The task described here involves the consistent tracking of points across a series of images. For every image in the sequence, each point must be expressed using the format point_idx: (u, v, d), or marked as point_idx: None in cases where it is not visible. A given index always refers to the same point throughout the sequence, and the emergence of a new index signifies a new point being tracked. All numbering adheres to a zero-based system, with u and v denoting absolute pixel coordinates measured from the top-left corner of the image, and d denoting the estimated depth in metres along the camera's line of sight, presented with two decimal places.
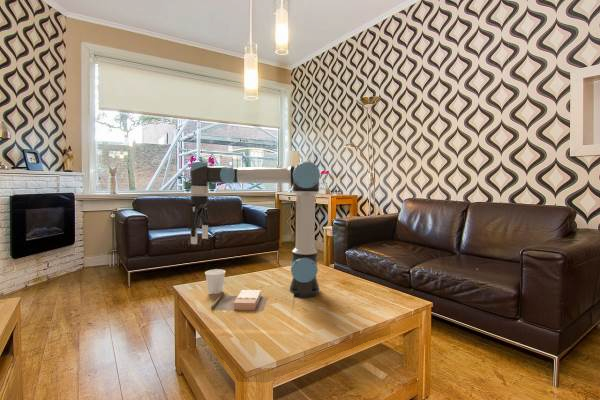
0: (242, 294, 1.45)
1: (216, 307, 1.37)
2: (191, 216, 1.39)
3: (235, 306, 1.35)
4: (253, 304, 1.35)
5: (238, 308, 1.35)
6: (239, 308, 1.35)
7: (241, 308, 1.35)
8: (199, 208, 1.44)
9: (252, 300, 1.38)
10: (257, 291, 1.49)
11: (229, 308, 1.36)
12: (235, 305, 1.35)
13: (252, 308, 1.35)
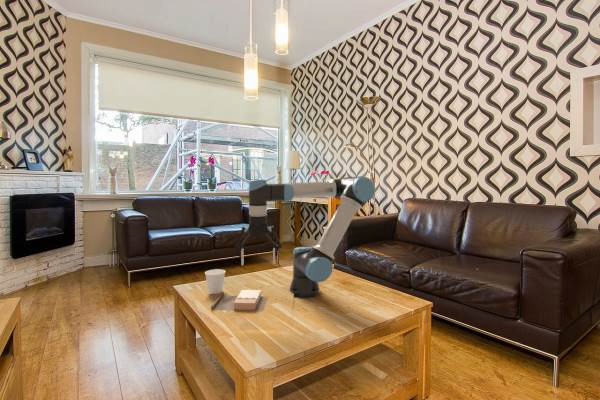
0: (242, 294, 1.45)
1: (216, 307, 1.37)
2: None
3: (235, 306, 1.35)
4: (253, 304, 1.35)
5: (238, 308, 1.35)
6: (239, 308, 1.35)
7: (241, 308, 1.35)
8: (251, 229, 1.36)
9: (252, 300, 1.38)
10: (257, 291, 1.49)
11: (229, 308, 1.36)
12: (235, 305, 1.35)
13: (252, 308, 1.35)
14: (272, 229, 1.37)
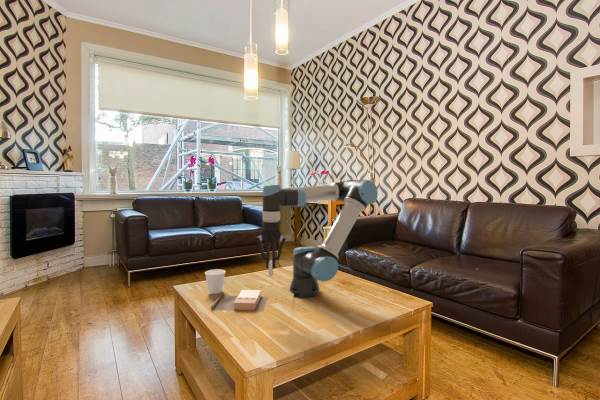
0: (242, 294, 1.45)
1: (216, 307, 1.37)
2: None
3: (235, 306, 1.35)
4: (253, 304, 1.35)
5: (238, 308, 1.35)
6: (239, 308, 1.35)
7: (241, 308, 1.35)
8: (263, 234, 1.34)
9: (252, 300, 1.38)
10: (257, 291, 1.49)
11: (229, 308, 1.36)
12: (235, 305, 1.35)
13: (252, 308, 1.35)
14: (283, 240, 1.34)
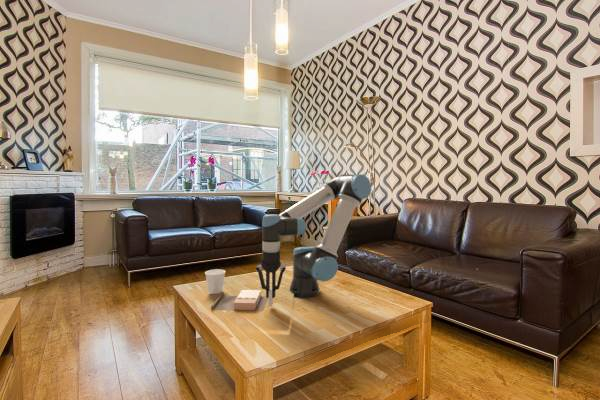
0: (242, 294, 1.45)
1: (216, 307, 1.37)
2: None
3: (235, 306, 1.35)
4: (253, 304, 1.35)
5: (238, 308, 1.35)
6: (239, 308, 1.35)
7: (241, 308, 1.35)
8: (263, 264, 1.35)
9: (252, 300, 1.38)
10: (257, 291, 1.49)
11: (229, 308, 1.36)
12: (235, 305, 1.35)
13: (252, 308, 1.35)
14: (283, 270, 1.35)
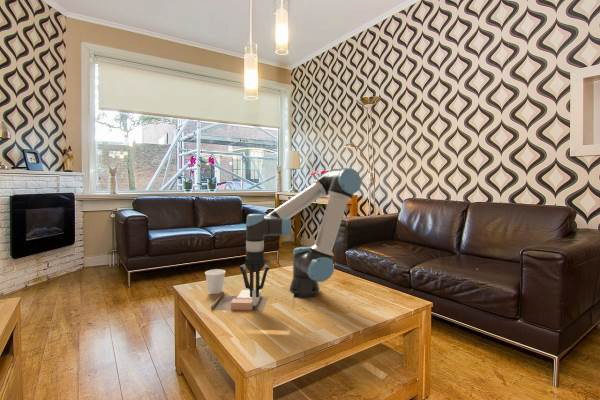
0: (242, 294, 1.45)
1: (216, 307, 1.37)
2: None
3: (232, 306, 1.35)
4: (250, 304, 1.35)
5: (235, 308, 1.35)
6: (236, 308, 1.35)
7: (238, 308, 1.35)
8: (247, 263, 1.35)
9: (249, 300, 1.38)
10: None
11: (229, 308, 1.36)
12: (232, 305, 1.35)
13: (249, 308, 1.35)
14: (266, 269, 1.35)
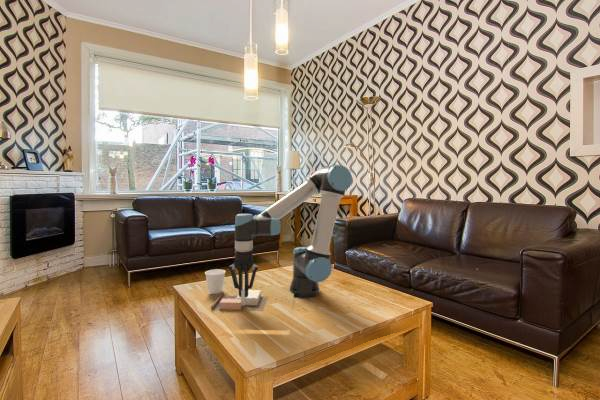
0: None
1: (216, 307, 1.37)
2: None
3: (221, 306, 1.35)
4: (239, 304, 1.35)
5: (224, 308, 1.35)
6: (225, 308, 1.35)
7: (227, 308, 1.35)
8: (236, 263, 1.36)
9: (238, 300, 1.38)
10: (257, 291, 1.49)
11: None
12: (221, 305, 1.35)
13: (238, 308, 1.35)
14: (255, 269, 1.35)
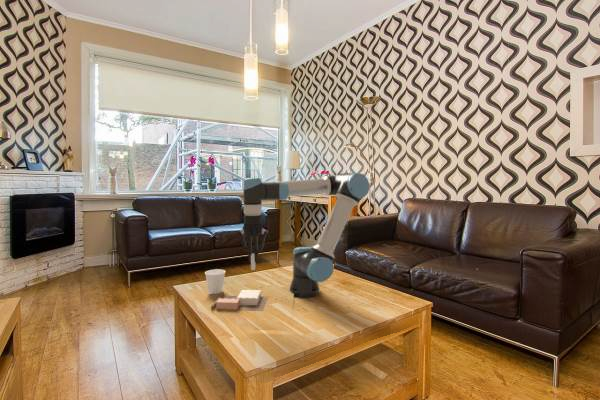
0: (242, 294, 1.45)
1: None
2: None
3: (217, 306, 1.35)
4: (235, 304, 1.35)
5: (220, 308, 1.35)
6: (221, 308, 1.35)
7: (223, 308, 1.35)
8: (245, 228, 1.35)
9: (235, 300, 1.38)
10: (257, 291, 1.49)
11: None
12: (217, 305, 1.35)
13: (234, 308, 1.35)
14: (264, 233, 1.34)
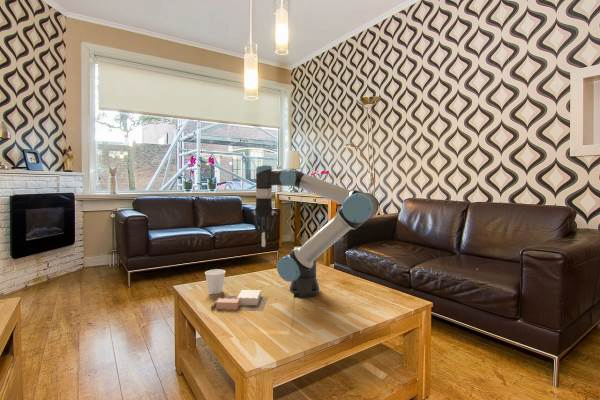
0: (242, 294, 1.45)
1: None
2: None
3: (217, 306, 1.35)
4: (235, 304, 1.35)
5: (220, 308, 1.35)
6: (221, 308, 1.35)
7: (223, 308, 1.35)
8: (257, 209, 1.53)
9: (235, 300, 1.38)
10: (257, 291, 1.49)
11: None
12: (217, 305, 1.35)
13: (234, 308, 1.35)
14: (274, 214, 1.52)
